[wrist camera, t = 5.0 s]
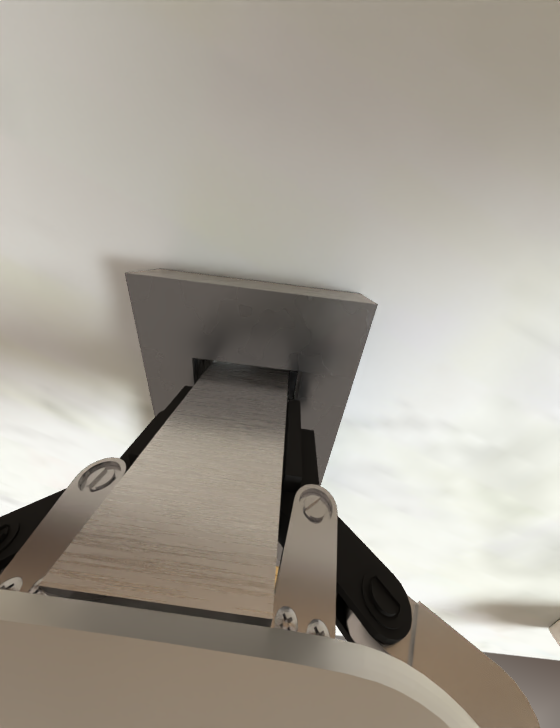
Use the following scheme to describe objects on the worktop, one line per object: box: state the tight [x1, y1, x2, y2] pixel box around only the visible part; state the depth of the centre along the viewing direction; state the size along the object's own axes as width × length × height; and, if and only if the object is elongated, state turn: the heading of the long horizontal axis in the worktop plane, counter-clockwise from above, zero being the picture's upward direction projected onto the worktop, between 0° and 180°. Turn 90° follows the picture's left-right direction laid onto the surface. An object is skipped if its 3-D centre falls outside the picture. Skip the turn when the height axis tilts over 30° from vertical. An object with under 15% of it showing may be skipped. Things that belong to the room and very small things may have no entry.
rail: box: [125, 269, 378, 583], centre depth 17 cm, size 32×10×2 cm, turn 174°
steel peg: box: [38, 361, 289, 627], centre depth 9 cm, size 4×4×10 cm
